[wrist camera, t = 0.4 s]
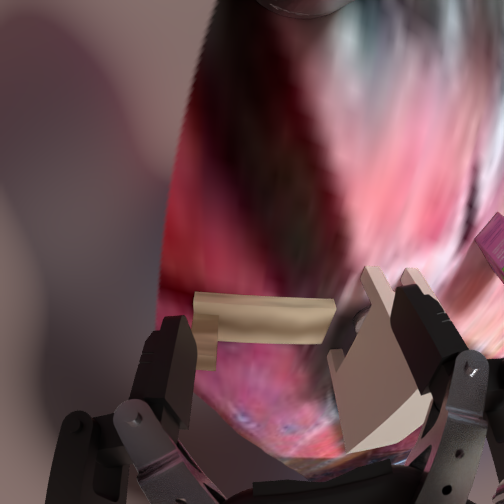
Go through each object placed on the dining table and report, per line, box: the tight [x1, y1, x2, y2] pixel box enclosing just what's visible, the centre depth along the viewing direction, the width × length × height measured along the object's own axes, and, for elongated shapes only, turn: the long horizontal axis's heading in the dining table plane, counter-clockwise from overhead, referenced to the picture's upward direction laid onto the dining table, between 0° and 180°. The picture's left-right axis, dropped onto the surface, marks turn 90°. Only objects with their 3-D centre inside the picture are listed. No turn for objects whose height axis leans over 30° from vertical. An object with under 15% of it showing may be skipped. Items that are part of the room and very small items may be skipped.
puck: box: [353, 306, 371, 334], centre depth 37 cm, size 5×5×2 cm
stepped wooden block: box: [191, 292, 337, 371], centre depth 34 cm, size 7×17×8 cm, turn 84°
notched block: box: [327, 266, 446, 454], centre depth 31 cm, size 19×8×16 cm, turn 175°
